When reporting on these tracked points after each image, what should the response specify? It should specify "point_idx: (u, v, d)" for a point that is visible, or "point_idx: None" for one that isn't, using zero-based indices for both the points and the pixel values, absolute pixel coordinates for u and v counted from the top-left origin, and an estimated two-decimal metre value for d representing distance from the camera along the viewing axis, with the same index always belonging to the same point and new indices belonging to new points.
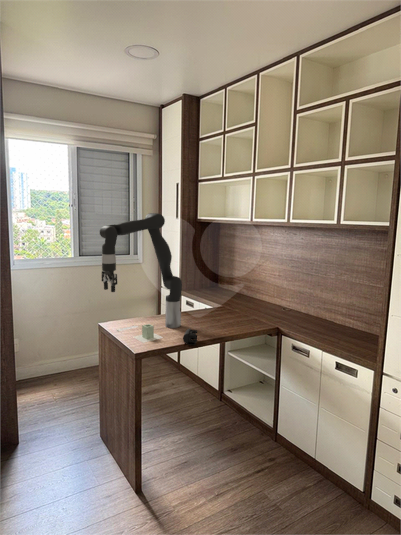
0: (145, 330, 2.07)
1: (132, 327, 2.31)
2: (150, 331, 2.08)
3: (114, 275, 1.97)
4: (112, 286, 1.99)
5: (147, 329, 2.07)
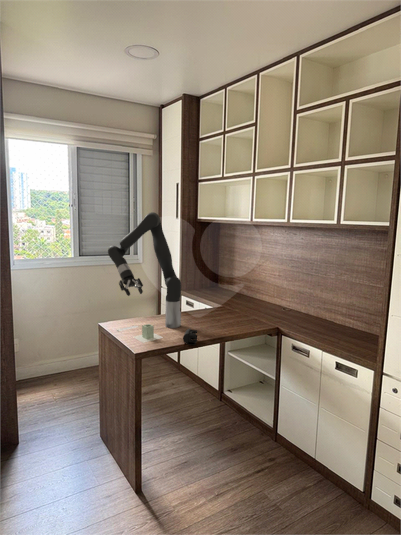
0: (145, 330, 2.07)
1: (132, 327, 2.31)
2: (150, 331, 2.08)
3: (119, 282, 2.17)
4: None
5: (147, 329, 2.07)
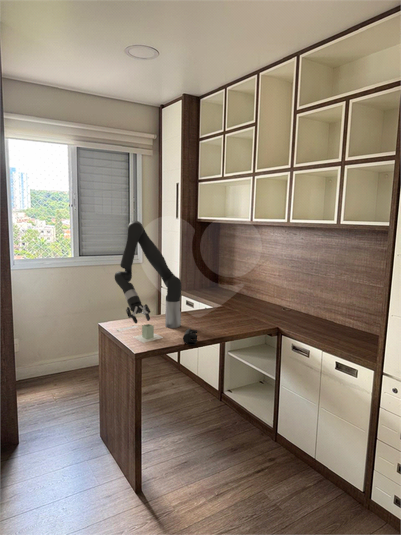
0: (145, 330, 2.07)
1: (132, 327, 2.31)
2: (150, 331, 2.08)
3: (126, 309, 2.13)
4: (132, 318, 2.12)
5: (147, 329, 2.07)
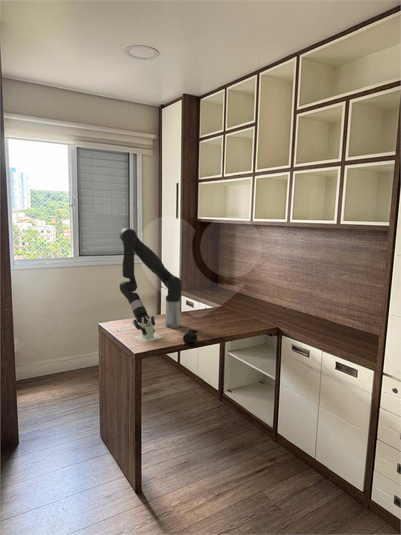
0: None
1: (132, 327, 2.31)
2: (150, 331, 2.08)
3: (133, 322, 2.08)
4: (141, 330, 2.08)
5: (147, 329, 2.07)
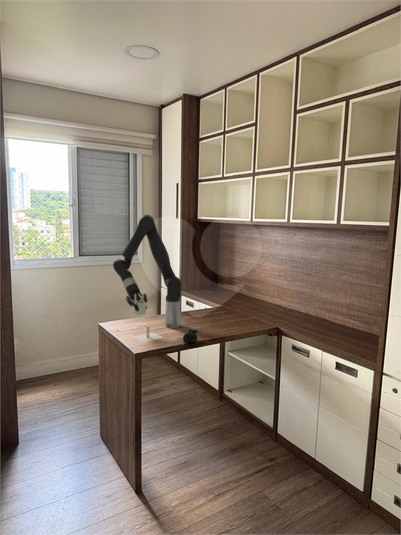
0: None
1: (132, 327, 2.31)
2: (142, 307, 2.13)
3: (126, 298, 2.13)
4: (134, 306, 2.13)
5: (139, 305, 2.12)
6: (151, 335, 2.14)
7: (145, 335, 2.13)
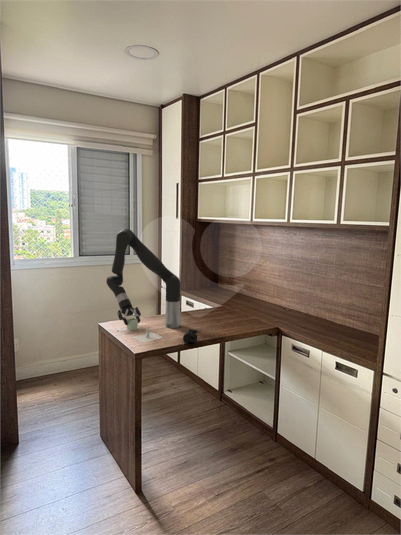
0: (129, 323, 2.22)
1: None
2: (134, 324, 2.23)
3: (117, 312, 2.23)
4: (123, 320, 2.22)
5: (131, 322, 2.21)
6: (151, 335, 2.14)
7: (145, 335, 2.13)
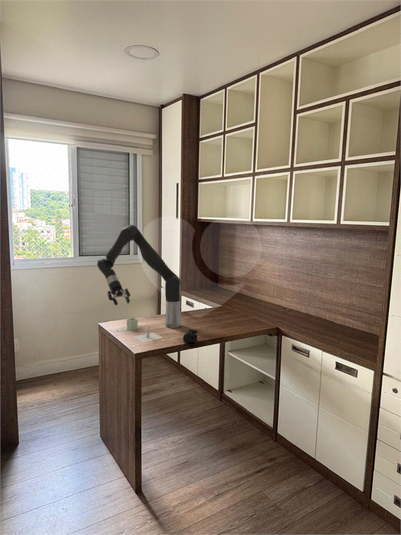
0: (129, 323, 2.22)
1: None
2: (134, 324, 2.23)
3: (107, 293, 2.32)
4: None
5: (131, 322, 2.21)
6: (151, 335, 2.14)
7: (145, 335, 2.13)
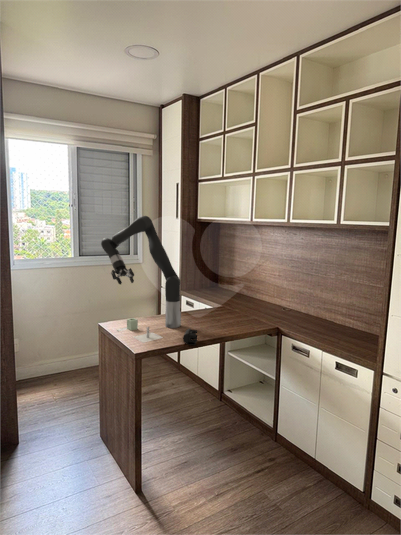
0: (129, 323, 2.22)
1: None
2: (134, 324, 2.23)
3: (111, 272, 2.29)
4: (117, 280, 2.28)
5: (131, 322, 2.21)
6: (151, 335, 2.14)
7: (145, 335, 2.13)
